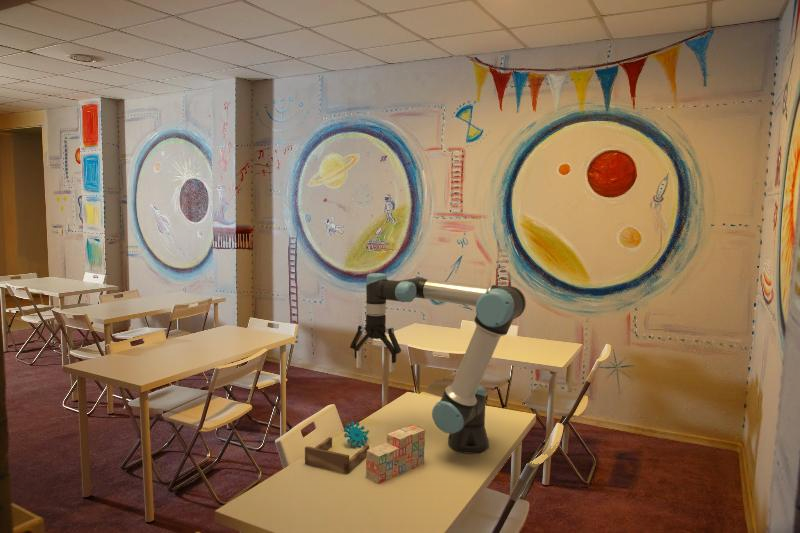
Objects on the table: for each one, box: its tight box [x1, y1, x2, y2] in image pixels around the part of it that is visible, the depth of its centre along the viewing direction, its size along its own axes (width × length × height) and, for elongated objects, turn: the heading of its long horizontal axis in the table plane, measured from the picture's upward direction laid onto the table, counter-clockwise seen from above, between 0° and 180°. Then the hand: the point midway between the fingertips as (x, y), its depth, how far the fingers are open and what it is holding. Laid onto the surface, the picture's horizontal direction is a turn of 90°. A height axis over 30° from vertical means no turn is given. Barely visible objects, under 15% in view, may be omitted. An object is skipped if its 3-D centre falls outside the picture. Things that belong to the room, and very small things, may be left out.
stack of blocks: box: [365, 424, 426, 484], centre depth 179 cm, size 21×6×12 cm, turn 135°
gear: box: [343, 421, 370, 448], centre depth 201 cm, size 11×6×10 cm
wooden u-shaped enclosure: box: [304, 436, 370, 475], centre depth 186 cm, size 16×16×6 cm
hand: (374, 369), depth 205 cm, fingers open, 13 cm apart
